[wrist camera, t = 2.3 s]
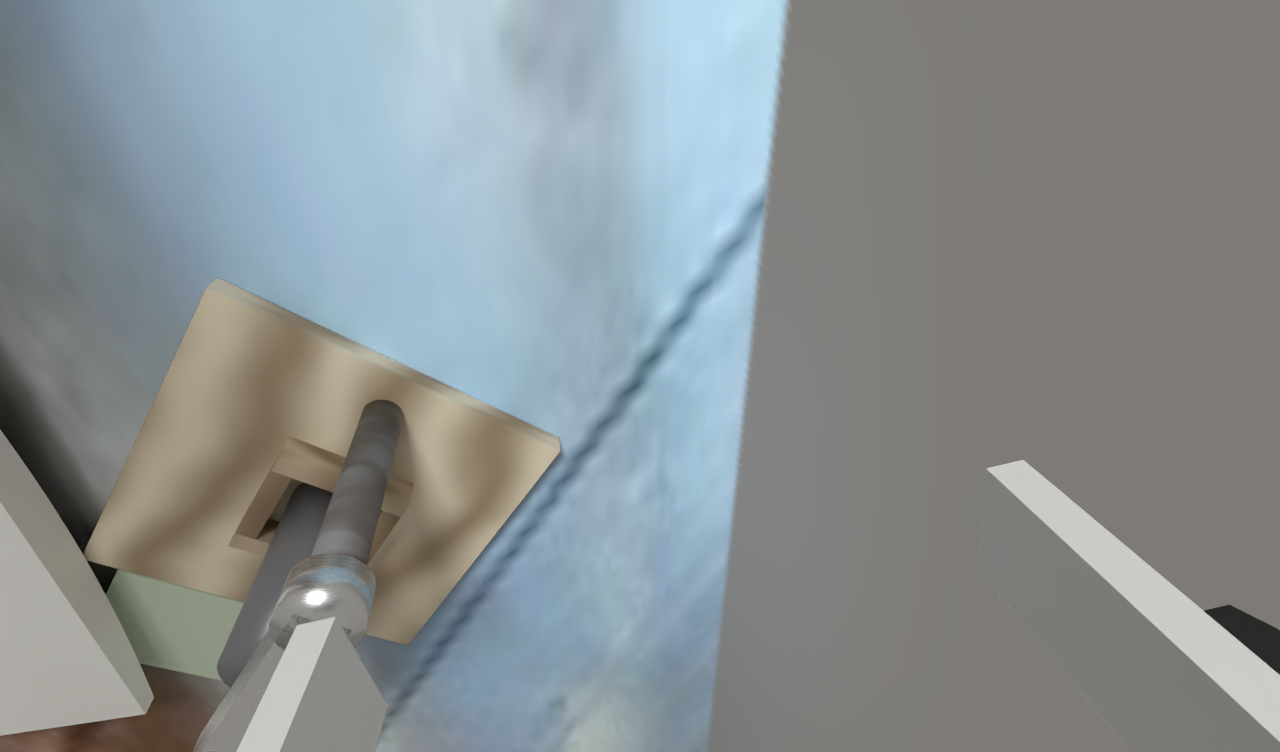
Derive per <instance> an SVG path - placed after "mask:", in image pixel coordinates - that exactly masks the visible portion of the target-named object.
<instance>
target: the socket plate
mask: <svg viewBox="0 0 1280 752" xmlns="http://www.w3.org/2000/svg"><path fill="white" fill-rule="evenodd" d="M559 452H560V442H559V438H558V437H556V436H554V435H552V434H550V433H548V432H546V431H543V430H541V429H539V428H537V427H535V426H533V425H531V424H528V423H526V422H524V421H522V420H520V419H518V418H516V417H514V416H511V415H509V414H507V413H505V412H503V411H501V410H499V409H497V408H494V407H492V406H490V405H488V404H486V403H484V402H482V401H479V400H477V399H475V398H473V397H471V396H469V395H467V394H465V393H462V392H460V391H458V390H456V389H454V388H452V387H450V386H448V385H445V384H443V383H441V382H439V381H437V380H435V379H433V378H430V377H428V376H426V375H424V374H422V373H420V372H418V371H416V370H413V369H411V368H409V367H407V366H405V365H403V364H401V363H399V362H396V361H394V360H392V359H390V358H388V357H386V356H384V355H381V354H379V353H377V352H375V351H373V350H371V349H369V348H367V347H364V346H362V345H360V344H358V343H356V342H354V341H352V340H350V339H347V338H345V337H343V336H341V335H339V334H337V333H335V332H333V331H330V330H328V329H326V328H324V327H322V326H320V325H318V324H315V323H313V322H311V321H309V320H307V319H305V318H303V317H301V316H298V315H296V314H294V313H292V312H290V311H288V310H286V309H284V308H281V307H279V306H277V305H275V304H273V303H271V302H269V301H266V300H264V299H262V298H260V297H258V296H256V295H254V294H252V293H249V292H247V291H245V290H243V289H241V288H239V287H237V286H235V285H232V284H230V283H228V282H226V281H224V280H222V279H220V278H216V279H215V280H214V281H213V282H212V283H211V284H210V285H209V286H208V287H207V288H206V290H205V292H204V294H203V296H202V298H201V300H200V303H199V305H198V307H197V309H196V311H195V313H194V316H193V318H192V320H191V322H190V324H189V326H188V328H187V331H186V333H185V335H184V337H183V339H182V341H181V344H180V346H179V348H178V350H177V352H176V354H175V357H174V359H173V361H172V363H171V365H170V367H169V370H168V372H167V374H166V376H165V378H164V380H163V383H162V385H161V387H160V389H159V391H158V393H157V395H156V398H155V400H154V402H153V404H152V406H151V408H150V411H149V413H148V415H147V417H146V419H145V421H144V424H143V426H142V428H141V430H140V432H139V434H138V437H137V439H136V441H135V443H134V445H133V447H132V449H131V452H130V454H129V456H128V458H127V460H126V462H125V465H124V467H123V469H122V471H121V473H120V475H119V478H118V480H117V482H116V484H115V486H114V488H113V491H112V493H111V495H110V497H109V499H108V501H107V503H106V506H105V508H104V510H103V512H102V514H101V516H100V519H99V521H98V523H97V525H96V527H95V529H94V532H93V534H92V536H91V538H90V540H89V542H88V545H87V547H86V549H85V551H84V553H83V555H84V557H85V559H86V560H87V561H90V562H94V563H98V564H102V565H106V566H109V567H113V568H117V569H121V570H124V571H128V572H132V573H136V574H140V575H143V576H147V577H151V578H155V579H158V580H162V581H166V582H170V583H174V584H177V585H181V586H185V587H189V588H192V589H196V590H200V591H204V592H208V593H211V594H215V595H219V596H223V597H227V598H230V599H234V600H238V601H242V602H245V599H246V597H247V595H248V593H249V590H250V588H251V586H252V583H253V581H254V579H255V577H256V574H257V572H258V570H259V568H260V565H261V563H262V561H263V559H264V556H265V554H266V552H267V549H268V547H269V545H270V543H271V540H272V538H273V536H274V534H275V531H276V529H277V527H278V525H279V522H280V520H281V518H282V515H283V513H284V511H285V509H286V506H287V504H288V502H289V500H290V497H291V495H292V493H293V491H294V490H295V488H296V487H297V486H298V485H300V484H301V483H303V482H304V483H307V484H310V485H313V486H315V487H318V488H321V489H324V490H327V491H329V492H332V493H333V495H332V498H331V501H330V504H329V506H328V509H327V512H326V515H325V518H324V520H323V523H322V526H321V529H320V532H319V534H318V537H317V540H316V543H315V546H314V548H313V551H312V554H311V556H314V555H319V554H341V555H346V556H350V557H353V558H356V559H358V560H360V561H361V562H363V563H365V564H366V565H367V566H368V567H369V568H370V569H371V570H372V572H373V573H374V575H375V578H376V589H375V593H374V597H373V602H372V606H371V610H370V615H369V619H368V624H367V628H366V632H365V634H366V635H370V636H374V637H378V638H381V639H385V640H389V641H393V642H397V643H400V644H404V645H409V644H410V642H411V641H412V640H413V639H414V637H415V636H416V635H417V633H418V632H419V631H420V630H421V628H422V627H423V626H424V625H425V623H426V622H427V621H428V619H429V618H430V617H431V616H432V614H433V613H434V612H435V610H436V609H437V608H438V607H439V605H440V604H441V603H442V602H443V600H444V599H445V598H446V596H447V595H448V594H449V593H450V591H451V590H452V589H453V587H454V586H455V585H456V584H457V582H458V581H459V580H460V579H461V577H462V576H463V575H464V573H465V572H466V571H467V570H468V568H469V567H470V566H471V565H472V563H473V562H474V561H475V559H476V558H477V557H478V556H479V554H480V553H481V552H482V550H483V549H484V548H485V547H486V545H487V544H488V543H489V542H490V540H491V539H492V538H493V536H494V535H495V534H496V533H497V531H498V530H499V529H500V528H501V526H502V525H503V524H504V522H505V521H506V520H507V519H508V517H509V516H510V515H511V513H512V512H513V511H514V510H515V508H516V507H517V506H518V505H519V503H520V502H521V501H522V499H523V498H524V497H525V496H526V494H527V493H528V492H529V490H530V489H531V488H532V487H533V485H534V484H535V483H536V482H537V480H538V479H539V478H540V476H541V475H542V474H543V473H544V471H545V470H546V469H547V468H548V466H549V465H550V464H551V462H552V461H553V460H554V459H555V457H556V456H557V455H558V453H559Z"/></svg>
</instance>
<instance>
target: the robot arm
mask: <svg viewBox="0 0 1280 752" xmlns="http://www.w3.org/2000/svg"><path fill="white" fill-rule="evenodd" d="M978 571H979V572H980V573H981V574H982V576H983V577H984V578H985V579H986V580H987V582H988V583H989V584H990V585H991V586H992V588H993V589H994V590H995V591H996V592H997V594H998V595H999V596H1000V597H1001V598H1002V599H1003V601H1004V602H1005V603H1006V604H1007V605H1008V607H1009V608H1010V609H1011V610H1012V611H1013V613H1014V614H1015V615H1016V616H1017V617H1018V618H1019V620H1020V621H1021V622H1022V623H1023V624H1024V626H1025V627H1026V628H1027V629H1028V631H1029V632H1030V633H1031V634H1032V635H1033V637H1034V638H1035V639H1036V640H1037V641H1038V642H1039V644H1040V645H1041V646H1042V647H1043V648H1044V650H1045V651H1046V652H1047V653H1048V654H1049V656H1050V657H1051V658H1052V659H1053V660H1054V662H1055V663H1056V664H1057V665H1058V666H1059V667H1060V669H1061V670H1062V671H1063V672H1064V674H1065V675H1066V676H1067V677H1068V678H1069V679H1070V681H1071V682H1072V683H1073V684H1074V685H1075V686H1076V688H1077V689H1078V690H1079V691H1080V692H1081V694H1082V695H1083V696H1084V697H1085V699H1086V700H1087V701H1088V702H1089V703H1090V705H1091V706H1092V707H1093V708H1094V709H1095V710H1096V712H1097V713H1098V714H1099V715H1100V716H1101V718H1102V719H1103V720H1104V721H1105V722H1106V724H1107V725H1108V726H1109V727H1110V728H1111V730H1112V731H1113V732H1114V733H1115V734H1116V736H1117V737H1118V738H1119V739H1120V740H1121V742H1122V743H1123V744H1124V745H1125V746H1126V747H1127V749H1128V750H1129V751H1130V752H1280V631H1279V630H1278V629H1276V628H1275V627H1273V626H1271V625H1269V624H1267V623H1265V622H1263V621H1261V620H1258V619H1257V618H1255V617H1253V616H1251V615H1249V614H1246V613H1245V612H1243V611H1241V610H1239V609H1237V608H1235V607H1233V606H1231V605H1226V606H1222V607H1218V608H1213V609H1209V610H1205V611H1203V610H1202V609H1200V608H1199V607H1198V606H1197V605H1196V604H1194V603H1193V602H1192V601H1191V600H1190V599H1189V598H1187V597H1186V596H1185V595H1184V594H1183V593H1181V592H1180V591H1179V590H1178V589H1177V588H1175V587H1174V586H1173V585H1172V584H1171V583H1169V582H1168V581H1167V580H1166V579H1165V578H1163V577H1162V576H1161V575H1160V574H1158V572H1156V571H1155V570H1154V569H1153V568H1152V567H1150V566H1149V565H1148V564H1147V563H1145V562H1144V561H1143V560H1142V559H1141V558H1140V557H1138V556H1137V555H1136V554H1135V553H1134V552H1132V551H1131V550H1130V549H1129V548H1128V547H1126V546H1125V545H1124V544H1123V543H1122V542H1121V541H1119V540H1118V539H1117V538H1116V537H1115V536H1113V535H1112V534H1111V533H1110V532H1108V531H1107V530H1106V529H1105V528H1104V527H1103V526H1101V525H1100V524H1099V523H1098V522H1097V521H1095V520H1094V519H1093V518H1092V517H1091V516H1090V515H1088V514H1087V513H1086V512H1085V511H1083V510H1082V509H1081V508H1080V507H1079V506H1077V505H1076V504H1075V503H1074V502H1073V501H1071V500H1070V499H1069V498H1068V497H1067V496H1066V495H1064V494H1063V493H1062V492H1061V491H1060V490H1058V489H1057V488H1056V487H1055V486H1054V485H1052V484H1051V483H1050V482H1049V481H1048V480H1047V479H1045V478H1044V477H1043V476H1042V475H1041V474H1039V473H1038V472H1037V471H1036V470H1035V469H1033V468H1032V467H1031V466H1030V465H1029V464H1027V463H1026V462H1025V461H1024V460H1021V461H1017V462H1013V463H1008V464H1004V465H999V466H995V467H991V468H987V469H986V478H985V490H984V501H983V514H982V526H981V538H980V550H979V562H978ZM387 707H388V705H387V704H386V702H385V700H384V699H383V697H382V695H381V693H380V692H379V690H378V688H377V687H376V685H375V683H374V681H373V680H372V678H371V676H370V675H369V673H368V671H367V670H366V668H365V666H364V664H363V663H362V661H361V659H360V658H359V656H358V654H357V652H356V651H355V649H354V647H353V646H352V644H351V642H350V640H349V639H348V637H347V635H346V634H345V632H344V630H343V628H342V627H341V625H340V623H339V622H338V620H337V618H336V617H332V618H327V619H323V620H319V621H314V622H310V623H305V624H301V625H297V626H296V628H295V630H294V632H293V634H292V637H291V639H290V641H289V643H288V645H287V647H286V649H285V651H284V653H283V655H282V657H281V660H280V662H279V664H278V666H277V668H276V670H275V672H274V674H273V676H272V678H271V680H270V683H269V685H268V687H267V689H266V691H265V693H264V695H263V697H262V699H261V701H260V703H259V706H258V708H257V710H256V712H255V714H254V716H253V718H252V720H251V722H250V724H249V726H248V729H247V731H246V733H245V735H244V737H243V739H242V741H241V743H240V745H239V747H238V749H237V752H375V751H376V748H377V744H378V740H379V737H380V733H381V729H382V726H383V722H384V718H385V715H386V711H387Z"/></svg>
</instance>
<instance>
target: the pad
mask: <svg viewBox="0 0 1280 752" xmlns="http://www.w3.org/2000/svg"><path fill="white" fill-rule="evenodd" d="M106 596H107V598H108V600H109V602H110V604H111V606H112V608H113V610H114V612H115V614H116V616H117V618H118V620H119V622H120V624H121V625H122V628H123V630H124V632H125V634H126V636H127V638H128V640H129V642H130V644H131V646H132V648H133V650H134V652H135V655H136V657H137V659H138V661H139V663H140V664H145V665H150V666H154V667H159V668H164V669H169V670H173V671H178V672H183V673H188V674H192V675H197V676H202V677H207V678H212V679H216V680H221V681H222V679H221V678H220V677H219V675H218V672H217V664H218V661H219V658H220V656H221V654H222V652H223V649H224V647H225V645H226V642H227V640H228V638H229V636H230V633H231V631H232V629H233V627H234V624H235V622H236V620H237V618H238V615H239V613H240V611H241V608H242V606H243V604H244V602H242V601H238V600H234V599H230V598H227V597H223V596H219V595H215V594H211V593H208V592H204V591H200V590H196V589H192V588H189V587H185V586H181V585H177V584H174V583H170V582H166V581H162V580H158V579H155V578H151V577H147V576H143V575H140V574H136V573H132V572H128V571H124V570H121V569H118V571H117V573H116V575H115V577H114V579H113V581H112V583H111V585H110V587H109V589H108V591H107V593H106Z"/></svg>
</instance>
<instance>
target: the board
mask: <svg viewBox="0 0 1280 752" xmlns="http://www.w3.org/2000/svg"><path fill="white" fill-rule="evenodd" d="M153 699H154V696H153V693H152V691H151V689H150V686H149V684H148V682H147V679H146V677H145V675H144V672H143V670H142V668H141V666H140V663H139V661H138V659H137V657H136V655H135V652H134V650H133V648H132V646H131V644H130V642H129V640H128V638H127V636H126V634H125V632H124V630H123V628H122V625H121V624H120V622H119V620H118V618H117V616H116V614H115V612H114V610H113V608H112V606H111V604H110V602H109V600H108V598H107V596H106V595H105V593H104V591H103V589H102V587H101V585H100V584H99V582H98V580H97V578H96V576H95V575H94V573H93V571H92V569H91V568H90V566H89V564H88V562H87V561H86V559H85V557H84V555H83V554H82V552H81V550H80V549H79V547H78V545H77V544H76V542H75V540H74V539H73V537H72V535H71V534H70V532H69V531H68V529H67V527H66V526H65V524H64V522H63V521H62V519H61V518H60V516H59V515H58V513H57V511H56V510H55V508H54V507H53V505H52V504H51V502H50V501H49V499H48V498H47V496H46V495H45V493H44V491H43V490H42V488H41V487H40V486H39V484H38V483H37V481H36V480H35V478H34V477H33V475H32V474H31V472H30V471H29V469H28V468H27V466H26V465H25V464H24V462H23V461H22V459H21V458H20V456H19V455H18V454H17V452H16V451H15V449H14V448H13V447H12V445H11V444H10V442H9V441H8V440H7V438H6V437H5V435H4V434H3V433H2V431H1V430H0V736H1V735H8V734H15V733H22V732H28V731H35V730H42V729H49V728H56V727H62V726H69V725H76V724H83V723H89V722H96V721H103V720H110V719H116V718H123V717H130V716H137V715H143V714H146V712H147V710H148V708H149V706H150V705H151V703H152V701H153Z"/></svg>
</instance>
